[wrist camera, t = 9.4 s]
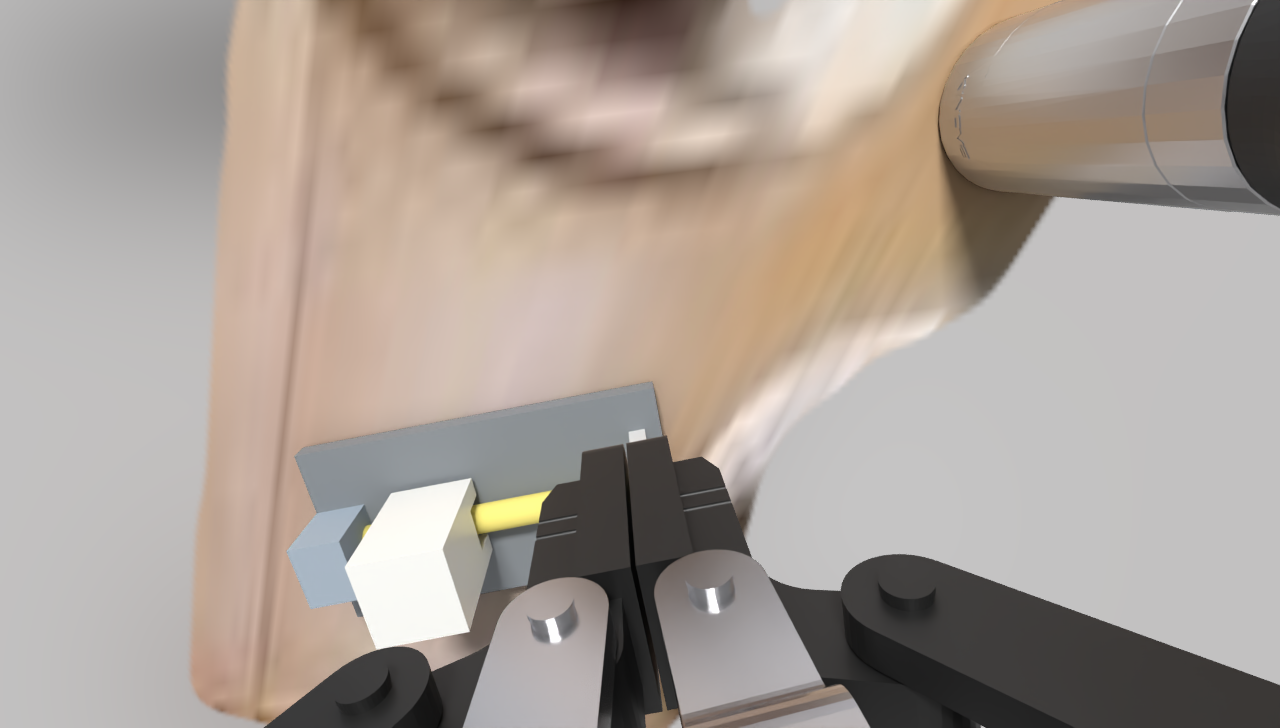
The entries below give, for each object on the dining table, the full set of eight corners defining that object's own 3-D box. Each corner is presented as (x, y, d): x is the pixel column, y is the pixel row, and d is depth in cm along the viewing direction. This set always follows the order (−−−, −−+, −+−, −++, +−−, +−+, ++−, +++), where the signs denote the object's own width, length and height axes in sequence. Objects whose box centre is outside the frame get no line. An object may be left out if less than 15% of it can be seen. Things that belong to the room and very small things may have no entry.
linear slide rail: (652, 381, 39) (659, 413, 34) (682, 545, 43) (692, 595, 38) (303, 447, 39) (260, 489, 34) (364, 604, 43) (333, 663, 38)
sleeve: (471, 478, 39) (442, 549, 32) (492, 549, 40) (469, 631, 33) (391, 493, 39) (344, 567, 32) (415, 563, 40) (376, 649, 33)
